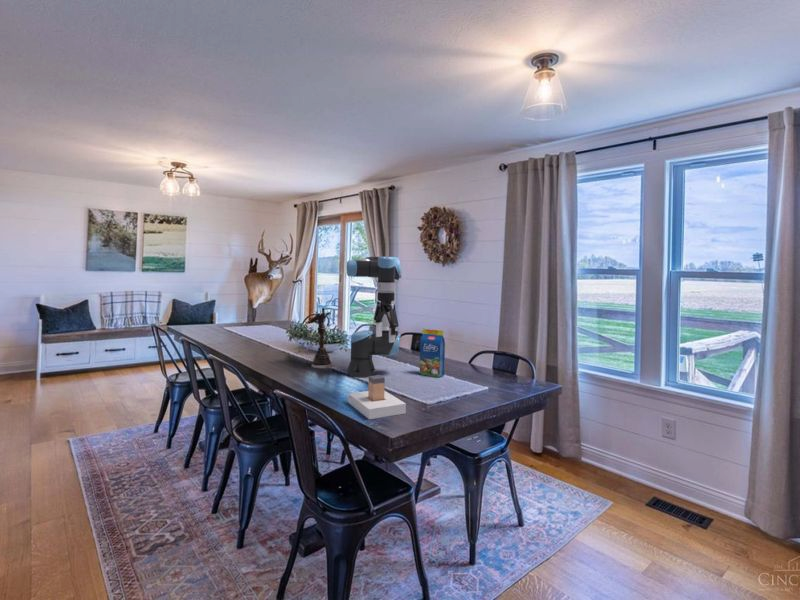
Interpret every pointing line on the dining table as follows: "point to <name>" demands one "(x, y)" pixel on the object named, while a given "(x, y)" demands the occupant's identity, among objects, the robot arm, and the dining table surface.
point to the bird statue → (321, 356)
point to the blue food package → (432, 353)
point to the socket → (376, 405)
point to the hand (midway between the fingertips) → (385, 339)
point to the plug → (376, 388)
